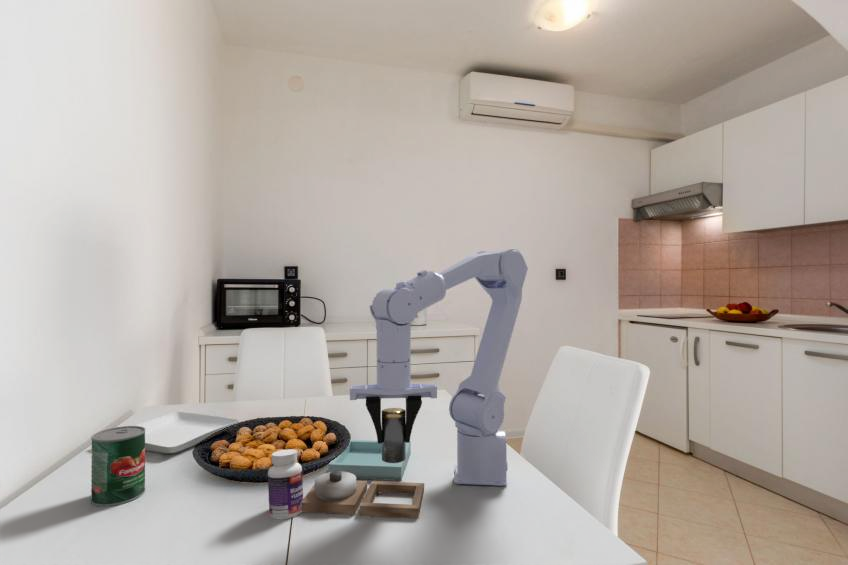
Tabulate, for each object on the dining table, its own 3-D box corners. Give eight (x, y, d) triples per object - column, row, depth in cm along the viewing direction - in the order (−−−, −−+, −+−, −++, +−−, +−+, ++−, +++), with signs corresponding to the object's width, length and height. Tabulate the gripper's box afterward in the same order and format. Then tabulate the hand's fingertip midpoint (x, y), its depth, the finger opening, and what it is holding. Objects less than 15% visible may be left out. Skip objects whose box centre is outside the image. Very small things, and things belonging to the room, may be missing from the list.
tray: (410, 453, 101) (410, 441, 101) (401, 480, 88) (401, 467, 88) (347, 451, 103) (347, 439, 103) (328, 477, 89) (328, 464, 89)
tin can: (406, 454, 80) (407, 408, 80) (403, 463, 76) (403, 414, 76) (384, 453, 81) (384, 407, 81) (379, 462, 77) (379, 414, 77)
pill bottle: (297, 520, 73) (294, 456, 74) (263, 521, 73) (261, 458, 74) (308, 506, 78) (305, 446, 79) (277, 507, 79) (274, 448, 80)
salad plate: (172, 462, 97) (172, 445, 97) (98, 450, 104) (98, 435, 104) (242, 431, 117) (242, 418, 117) (176, 423, 124) (176, 410, 124)
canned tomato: (133, 504, 78) (133, 438, 78) (81, 508, 77) (81, 441, 77) (152, 484, 86) (152, 424, 86) (105, 487, 84) (105, 426, 84)
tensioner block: (424, 491, 83) (424, 466, 83) (418, 518, 73) (418, 489, 73) (318, 487, 85) (318, 462, 85) (300, 512, 75) (300, 484, 75)
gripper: (433, 356, 83) (433, 432, 83) (351, 357, 82) (351, 434, 82) (438, 362, 76) (438, 445, 76) (348, 364, 75) (348, 448, 75)
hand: (393, 441), depth 79 cm, fingers closed on tin can, 4 cm apart
